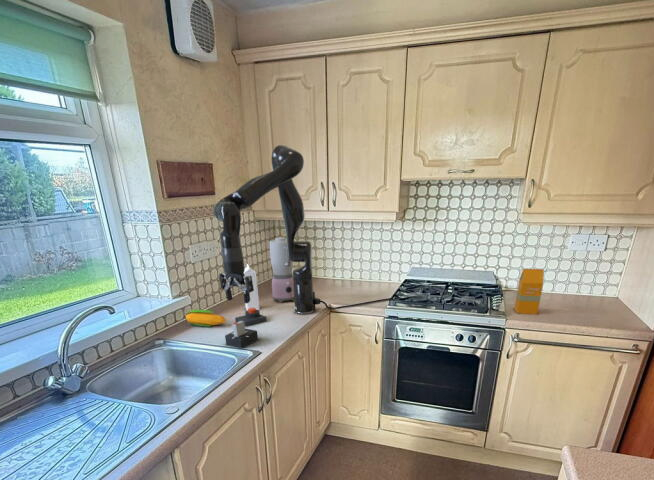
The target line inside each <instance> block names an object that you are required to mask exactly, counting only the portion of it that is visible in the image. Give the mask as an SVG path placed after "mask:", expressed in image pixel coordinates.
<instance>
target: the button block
mask: <svg viewBox="0 0 654 480" xmlns="http://www.w3.org/2000/svg"><path fill="white" fill-rule="evenodd" d="M260 313H261V311H260V310H256V313H248V311H247V310H245V312H244V314H245V315H240V316H236V317H235V318H234V320H235V323H237V322H239V321H244V327H246V328H247V327H249V326H253V325H254V326H255V325H258V324H262V323H265V322H267V316H265V315H263V314H260Z"/></svg>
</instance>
